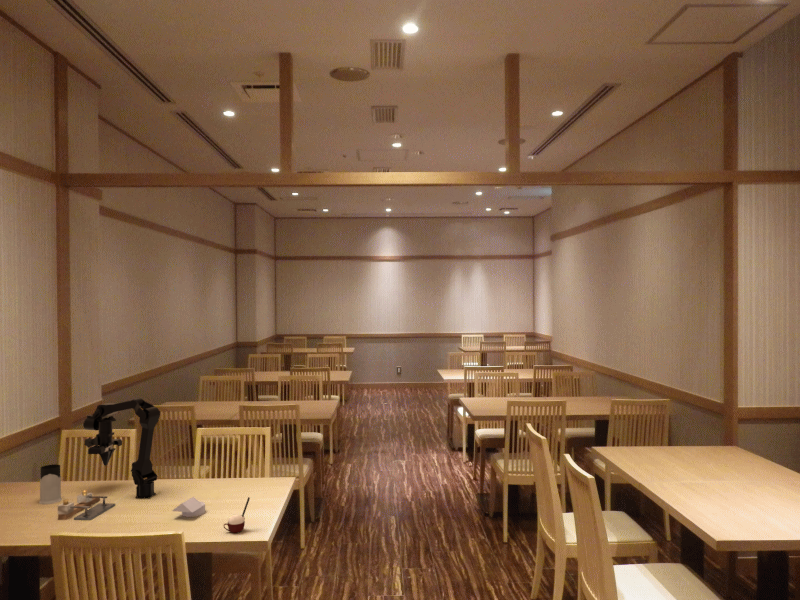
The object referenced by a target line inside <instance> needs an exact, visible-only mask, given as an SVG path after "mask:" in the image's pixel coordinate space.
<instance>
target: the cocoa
mask: <svg viewBox="0 0 800 600" xmlns="http://www.w3.org/2000/svg"><path fill="white" fill-rule="evenodd" d="M249 502H250V497H248V496H247V500H246V503H245V506H244V509H243V512H242V514H237V513H236V514H232V515H231V516H229V517H227V523H223V528H224V529H225V530H226V531H228V532H230V533H232V532H233V533H232V534H238V533H237V532H239V533H241V532H242V531H243V530H244V529H245V523H246V521H245V520H246V518H245V517H246V516H245V513H246V510H247V507H248V505H249ZM226 525H227V528H226V527H225V526H226ZM240 531H241V532H240Z"/></svg>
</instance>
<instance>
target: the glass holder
mask: <svg viewBox="0 0 800 600" xmlns="http://www.w3.org/2000/svg"><path fill="white" fill-rule="evenodd" d="M61 477H62V476H61V465H60V464H47V465H43V466H41V467H40V478H39V484H40V485H39V501H38V504H39V505H53V504H57V503H60V502H62V501H63V498H62V489H61V488H62V485H61V484H62V482H61V481H62V479H61Z"/></svg>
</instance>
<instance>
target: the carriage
mask: <svg viewBox="0 0 800 600" xmlns="http://www.w3.org/2000/svg"><path fill="white" fill-rule="evenodd" d="M81 491H82V493H80V494H77V495H76V503H77V504H79V503H88V502H89V501H91V500H92V498H100V499H102V503H103V505H105V503H106V499H108V496H107V495H105V496H104V495H102V496H101V495H93V492H88V490H87V489H83V490H81Z"/></svg>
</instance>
